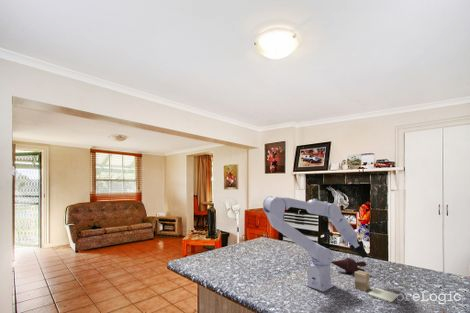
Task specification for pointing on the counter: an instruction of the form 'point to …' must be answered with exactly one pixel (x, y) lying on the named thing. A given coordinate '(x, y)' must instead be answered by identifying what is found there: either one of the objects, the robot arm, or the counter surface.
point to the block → (362, 280)
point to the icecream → (349, 265)
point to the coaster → (383, 295)
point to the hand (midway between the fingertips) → (361, 251)
